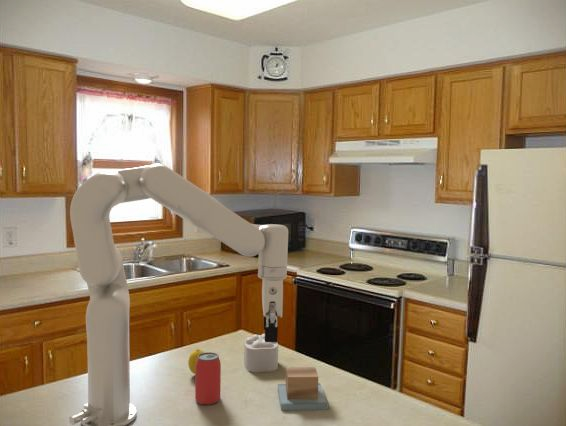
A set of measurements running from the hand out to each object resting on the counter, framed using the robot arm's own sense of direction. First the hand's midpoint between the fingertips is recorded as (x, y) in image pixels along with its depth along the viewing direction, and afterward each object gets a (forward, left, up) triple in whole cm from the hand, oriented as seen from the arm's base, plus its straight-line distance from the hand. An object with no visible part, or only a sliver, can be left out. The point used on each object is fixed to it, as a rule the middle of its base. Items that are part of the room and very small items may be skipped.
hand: (270, 335), depth 128 cm
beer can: (-10, +13, -18) cm, 24 cm away
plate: (+5, -7, -18) cm, 20 cm away
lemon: (0, +26, -18) cm, 32 cm away
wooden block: (+5, -7, -16) cm, 18 cm away
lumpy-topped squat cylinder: (+19, +16, -18) cm, 30 cm away
